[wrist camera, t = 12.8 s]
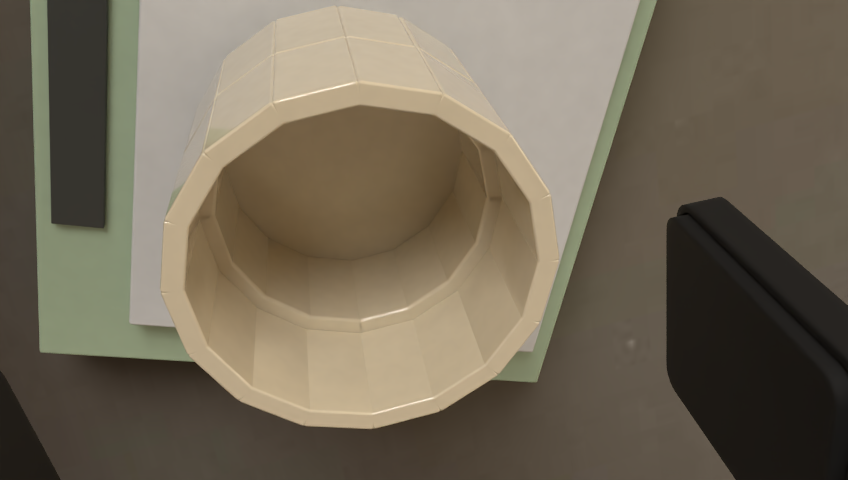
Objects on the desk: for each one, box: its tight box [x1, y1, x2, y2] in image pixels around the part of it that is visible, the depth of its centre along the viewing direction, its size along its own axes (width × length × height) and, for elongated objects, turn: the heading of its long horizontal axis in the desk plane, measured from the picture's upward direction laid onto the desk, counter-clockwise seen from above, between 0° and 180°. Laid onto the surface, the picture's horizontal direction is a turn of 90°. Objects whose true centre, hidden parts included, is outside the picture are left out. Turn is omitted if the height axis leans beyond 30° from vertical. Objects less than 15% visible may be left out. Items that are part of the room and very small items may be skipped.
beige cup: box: [160, 5, 559, 429], centre depth 16 cm, size 7×7×6 cm
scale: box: [30, 0, 657, 383], centre depth 20 cm, size 14×14×3 cm
